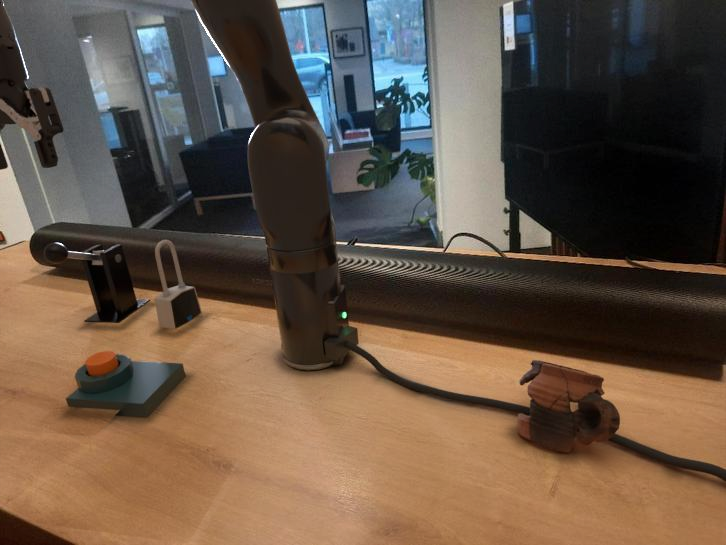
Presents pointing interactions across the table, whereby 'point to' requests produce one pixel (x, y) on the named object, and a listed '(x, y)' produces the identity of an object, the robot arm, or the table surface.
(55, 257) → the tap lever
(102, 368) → the button
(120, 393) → the control block
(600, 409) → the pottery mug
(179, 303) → the padlock
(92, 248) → the black lever base
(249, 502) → the table surface
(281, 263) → the robot arm
